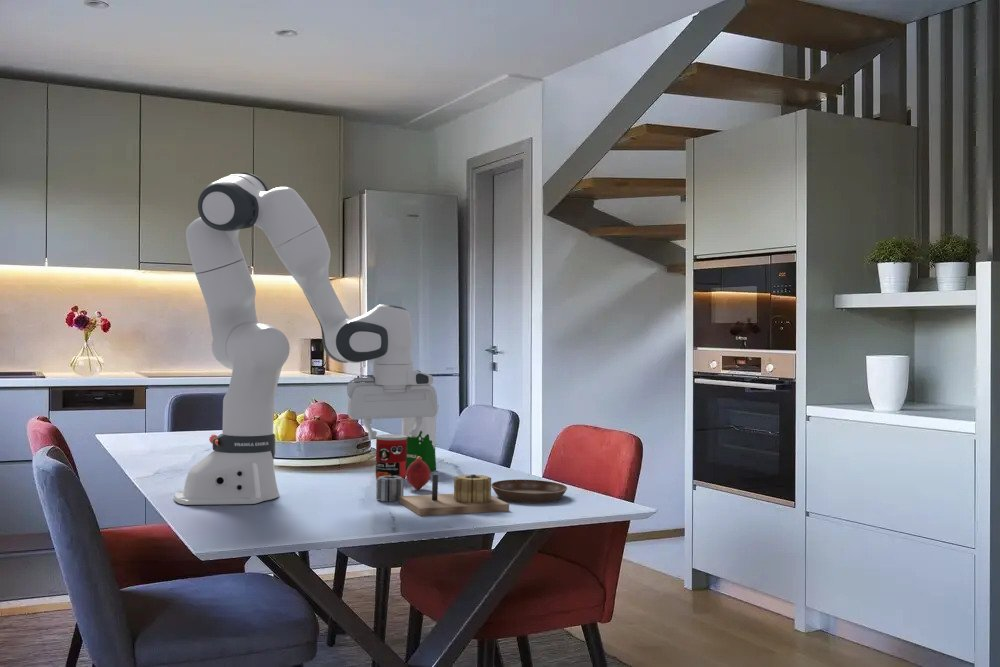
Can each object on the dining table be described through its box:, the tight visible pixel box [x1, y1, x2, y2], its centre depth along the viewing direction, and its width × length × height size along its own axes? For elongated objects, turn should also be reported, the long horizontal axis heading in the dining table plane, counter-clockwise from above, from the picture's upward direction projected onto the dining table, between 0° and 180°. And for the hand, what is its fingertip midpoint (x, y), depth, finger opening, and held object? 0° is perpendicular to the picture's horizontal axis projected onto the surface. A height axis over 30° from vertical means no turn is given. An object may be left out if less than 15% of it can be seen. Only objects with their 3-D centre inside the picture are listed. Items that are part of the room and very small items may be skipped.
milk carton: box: [401, 404, 440, 472], centre depth 261 cm, size 9×9×20 cm
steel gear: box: [375, 476, 405, 503], centre depth 217 cm, size 6×6×5 cm
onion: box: [406, 456, 432, 491], centre depth 231 cm, size 6×6×8 cm
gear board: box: [399, 473, 510, 517], centre depth 210 cm, size 20×15×7 cm
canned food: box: [375, 433, 407, 481], centre depth 246 cm, size 8×8×11 cm
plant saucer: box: [491, 478, 568, 504], centre depth 224 cm, size 18×18×3 cm
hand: (393, 438), depth 217 cm, fingers open, 8 cm apart
